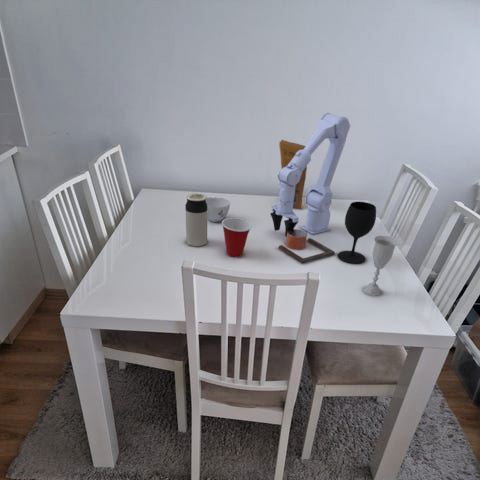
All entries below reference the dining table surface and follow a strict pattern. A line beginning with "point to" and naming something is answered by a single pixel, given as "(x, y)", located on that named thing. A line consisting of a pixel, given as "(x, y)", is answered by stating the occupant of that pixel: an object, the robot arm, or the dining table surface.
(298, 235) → the tin can
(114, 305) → the dining table surface
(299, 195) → the pancake mix bag
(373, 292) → the chalice
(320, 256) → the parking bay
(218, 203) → the teacup
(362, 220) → the wine glass
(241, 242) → the plastic cup
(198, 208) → the travel mug
